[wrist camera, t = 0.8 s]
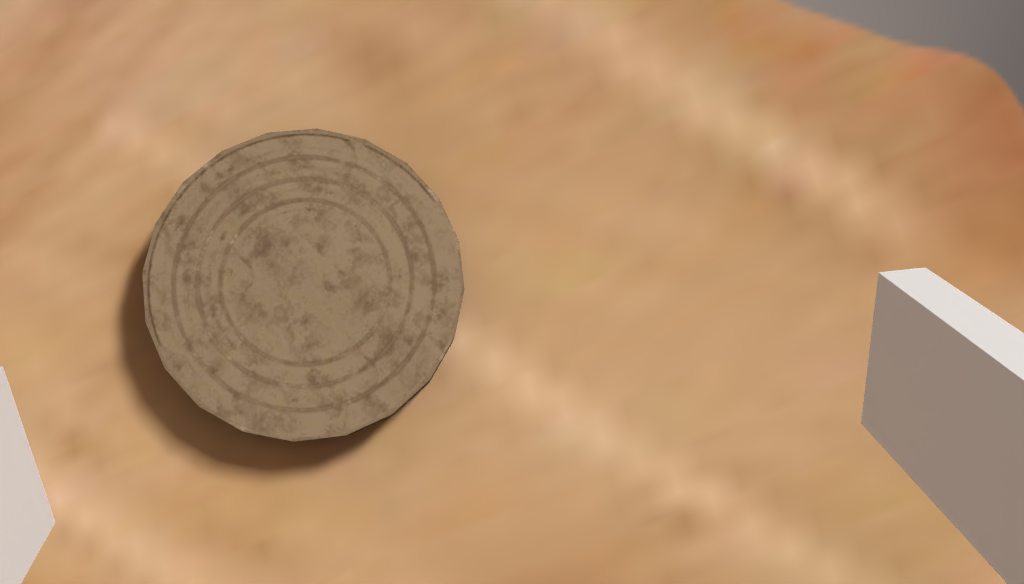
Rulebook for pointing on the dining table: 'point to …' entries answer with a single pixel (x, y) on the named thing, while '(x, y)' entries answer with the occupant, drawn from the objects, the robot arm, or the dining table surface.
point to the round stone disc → (303, 285)
